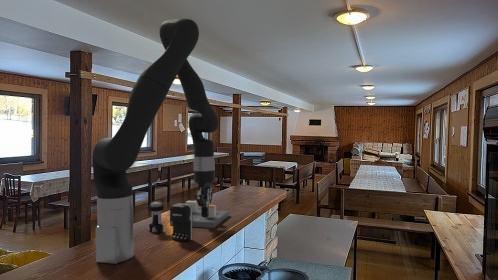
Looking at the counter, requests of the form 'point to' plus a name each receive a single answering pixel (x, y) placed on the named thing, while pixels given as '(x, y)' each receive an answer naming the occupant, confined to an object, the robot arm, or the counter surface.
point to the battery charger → (181, 222)
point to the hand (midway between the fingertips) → (205, 216)
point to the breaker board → (208, 221)
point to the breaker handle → (212, 211)
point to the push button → (156, 217)
